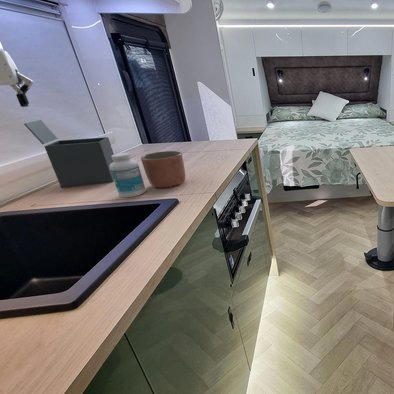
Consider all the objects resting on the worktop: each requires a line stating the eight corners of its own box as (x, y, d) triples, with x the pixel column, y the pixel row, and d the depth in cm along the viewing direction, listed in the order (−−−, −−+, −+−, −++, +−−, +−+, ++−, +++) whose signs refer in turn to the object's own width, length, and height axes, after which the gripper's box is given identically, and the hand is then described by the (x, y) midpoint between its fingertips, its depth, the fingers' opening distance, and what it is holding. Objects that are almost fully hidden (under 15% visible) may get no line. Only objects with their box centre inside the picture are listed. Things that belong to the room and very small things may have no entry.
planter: (175, 177, 114) (168, 149, 109) (195, 181, 108) (189, 153, 104) (141, 186, 103) (132, 156, 99) (162, 192, 98) (153, 161, 94)
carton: (61, 188, 103) (44, 146, 97) (73, 179, 112) (58, 140, 106) (112, 181, 109) (99, 142, 103) (120, 174, 118) (108, 137, 112)
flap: (43, 144, 97) (42, 144, 97) (57, 138, 106) (56, 139, 106) (24, 123, 93) (23, 123, 93) (41, 119, 103) (39, 120, 102)
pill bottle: (123, 191, 99) (110, 152, 94) (148, 188, 101) (137, 150, 96) (115, 199, 92) (101, 158, 87) (142, 196, 95) (130, 156, 90)
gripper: (-68, 43, 81) (-36, 109, 88) (15, 45, 88) (39, 106, 95) (-49, 45, 88) (-20, 107, 94) (28, 47, 94) (50, 105, 101)
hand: (10, 106), depth 94 cm, fingers open, 6 cm apart
